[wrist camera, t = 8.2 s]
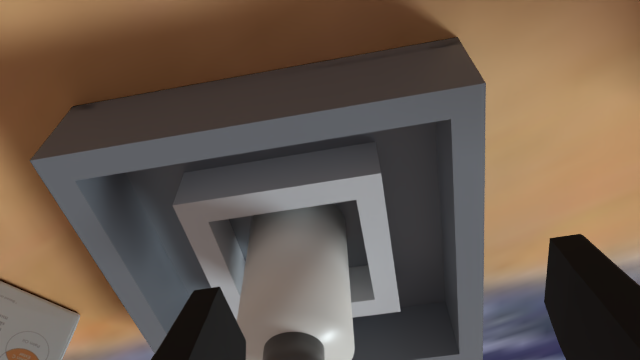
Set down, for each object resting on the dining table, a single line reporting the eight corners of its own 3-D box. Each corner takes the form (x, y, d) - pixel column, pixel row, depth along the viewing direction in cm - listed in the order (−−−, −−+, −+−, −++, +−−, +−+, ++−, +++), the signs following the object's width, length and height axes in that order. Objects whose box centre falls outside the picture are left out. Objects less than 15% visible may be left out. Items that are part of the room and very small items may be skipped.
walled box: (457, 37, 17) (485, 83, 14) (463, 302, 25) (482, 364, 23) (72, 106, 19) (29, 160, 16) (197, 336, 27) (183, 398, 24)
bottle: (338, 184, 20) (348, 347, 14) (351, 254, 22) (364, 420, 16) (240, 198, 20) (209, 362, 14) (263, 266, 23) (245, 431, 17)
